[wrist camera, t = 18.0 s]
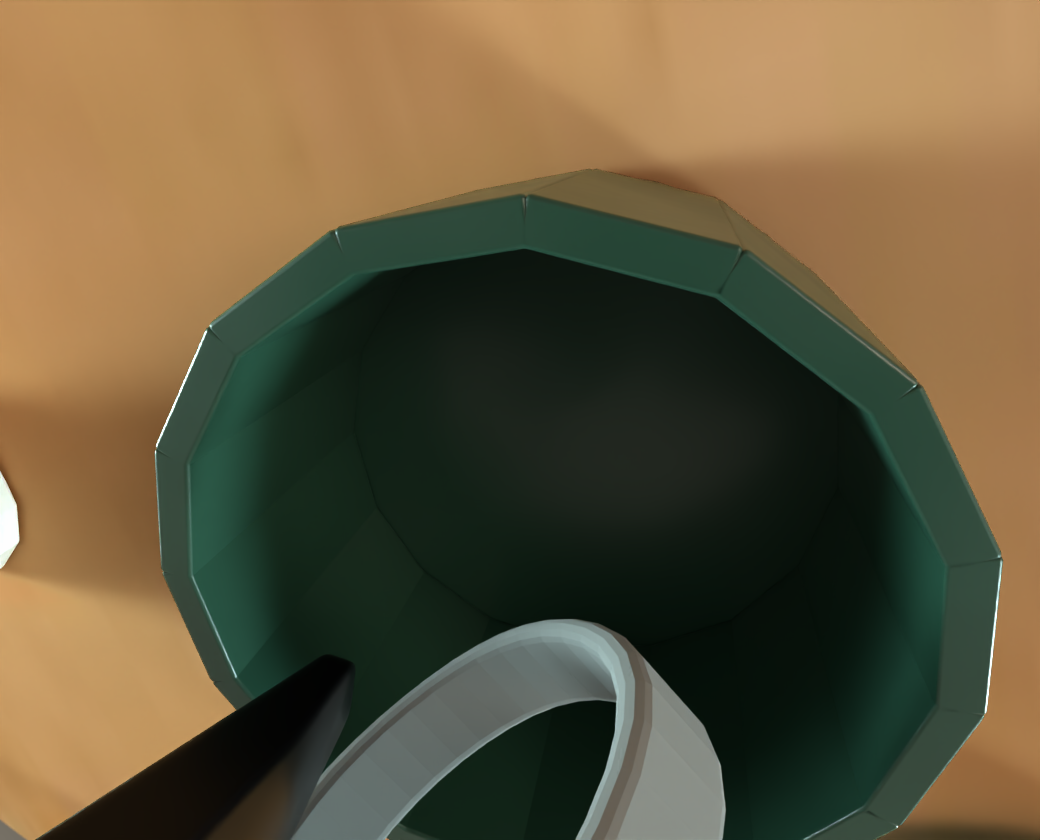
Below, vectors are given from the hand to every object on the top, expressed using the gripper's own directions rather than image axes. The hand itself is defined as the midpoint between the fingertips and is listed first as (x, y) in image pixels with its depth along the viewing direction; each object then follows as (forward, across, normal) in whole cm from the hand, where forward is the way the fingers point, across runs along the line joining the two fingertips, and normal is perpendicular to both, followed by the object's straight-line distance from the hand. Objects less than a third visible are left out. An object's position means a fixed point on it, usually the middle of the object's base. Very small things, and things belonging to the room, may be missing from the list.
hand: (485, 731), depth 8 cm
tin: (+8, 0, 0) cm, 8 cm away
